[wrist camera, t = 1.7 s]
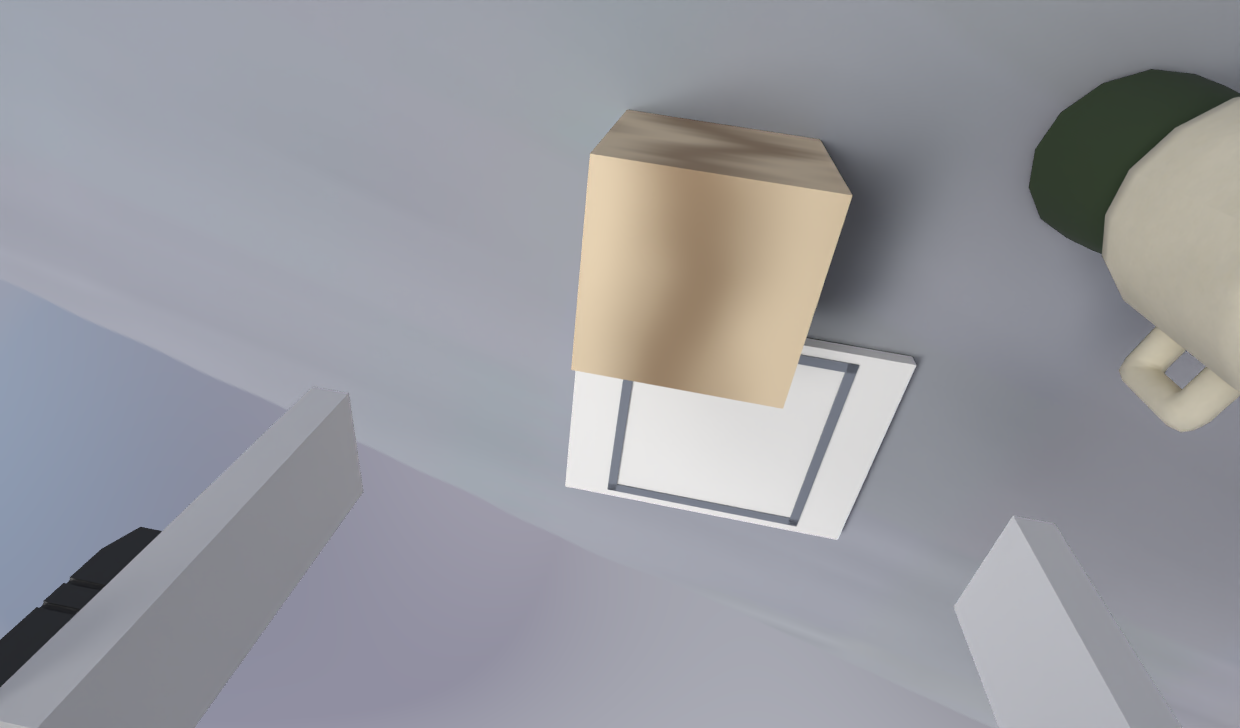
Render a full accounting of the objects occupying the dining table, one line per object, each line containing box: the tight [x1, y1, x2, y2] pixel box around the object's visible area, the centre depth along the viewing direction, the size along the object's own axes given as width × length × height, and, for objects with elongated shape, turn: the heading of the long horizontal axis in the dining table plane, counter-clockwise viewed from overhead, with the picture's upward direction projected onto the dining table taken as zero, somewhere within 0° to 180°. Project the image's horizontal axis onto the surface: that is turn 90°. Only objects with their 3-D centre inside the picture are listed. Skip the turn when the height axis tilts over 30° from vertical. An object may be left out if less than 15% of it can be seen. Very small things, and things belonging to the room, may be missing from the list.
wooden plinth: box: [571, 110, 853, 409], centre depth 24 cm, size 8×8×8 cm
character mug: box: [1029, 69, 1240, 432], centre depth 18 cm, size 11×7×13 cm, turn 162°
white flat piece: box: [565, 338, 916, 540], centre depth 33 cm, size 16×12×1 cm
